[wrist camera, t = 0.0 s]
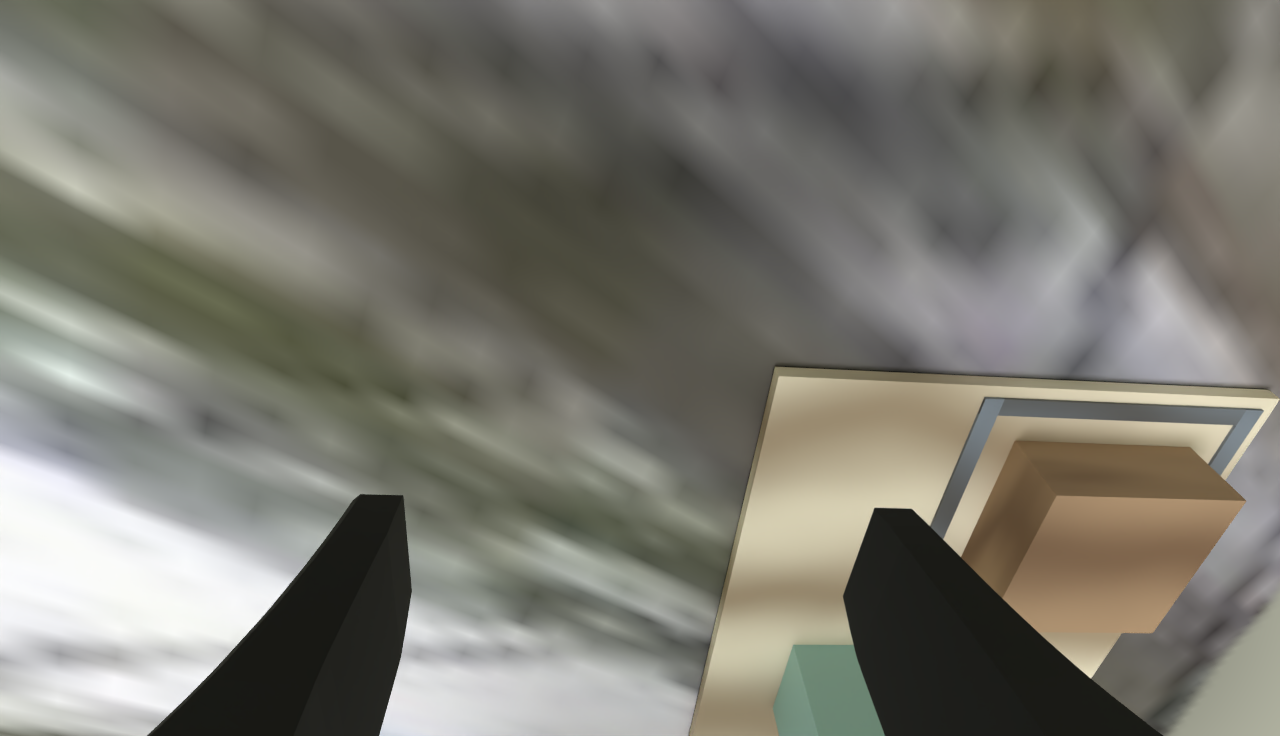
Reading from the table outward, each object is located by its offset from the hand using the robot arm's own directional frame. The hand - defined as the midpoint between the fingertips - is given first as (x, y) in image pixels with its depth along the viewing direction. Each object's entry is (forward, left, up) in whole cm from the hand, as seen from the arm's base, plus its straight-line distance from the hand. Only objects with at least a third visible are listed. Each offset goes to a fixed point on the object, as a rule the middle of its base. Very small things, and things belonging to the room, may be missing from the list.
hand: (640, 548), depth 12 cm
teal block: (-17, -10, -10) cm, 22 cm away
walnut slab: (-8, -16, -10) cm, 20 cm away
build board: (-13, -13, -10) cm, 21 cm away
